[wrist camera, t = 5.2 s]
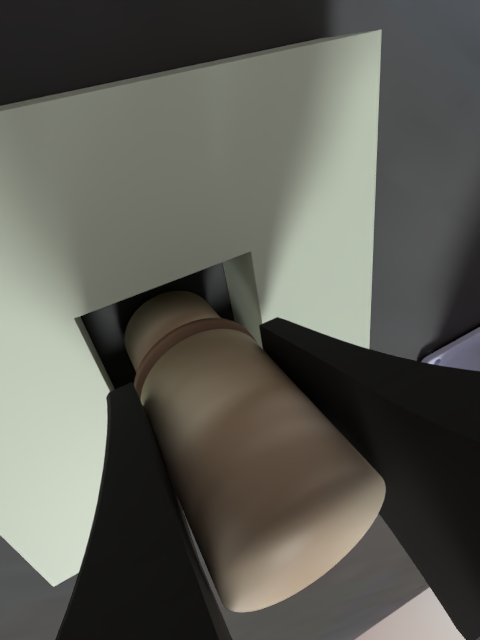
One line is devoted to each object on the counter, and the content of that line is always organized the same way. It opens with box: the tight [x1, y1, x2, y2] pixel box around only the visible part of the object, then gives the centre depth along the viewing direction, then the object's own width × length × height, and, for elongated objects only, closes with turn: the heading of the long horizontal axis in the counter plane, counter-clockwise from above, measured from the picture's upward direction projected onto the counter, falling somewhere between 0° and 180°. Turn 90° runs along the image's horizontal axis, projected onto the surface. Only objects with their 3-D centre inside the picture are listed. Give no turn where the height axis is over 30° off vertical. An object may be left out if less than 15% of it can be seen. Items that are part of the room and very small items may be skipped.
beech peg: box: [125, 291, 386, 612], centre depth 11 cm, size 4×4×8 cm
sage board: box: [0, 30, 381, 587], centre depth 13 cm, size 14×14×2 cm
